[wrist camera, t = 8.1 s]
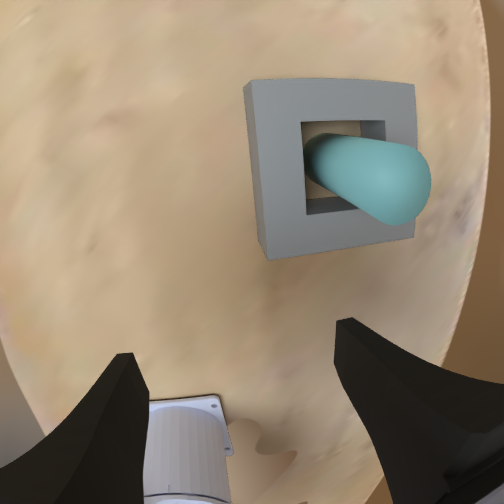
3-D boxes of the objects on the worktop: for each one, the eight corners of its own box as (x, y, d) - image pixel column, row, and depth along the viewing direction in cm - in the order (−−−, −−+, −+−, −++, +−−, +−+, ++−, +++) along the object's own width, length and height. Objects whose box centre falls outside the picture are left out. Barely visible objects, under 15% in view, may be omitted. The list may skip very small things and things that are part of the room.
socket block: (389, 222, 21) (413, 237, 18) (258, 241, 20) (267, 260, 17) (387, 87, 17) (414, 84, 14) (243, 87, 16) (250, 80, 14)
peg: (350, 183, 19) (428, 221, 12) (302, 186, 19) (363, 229, 12) (350, 132, 18) (432, 145, 11) (300, 133, 18) (364, 143, 10)
